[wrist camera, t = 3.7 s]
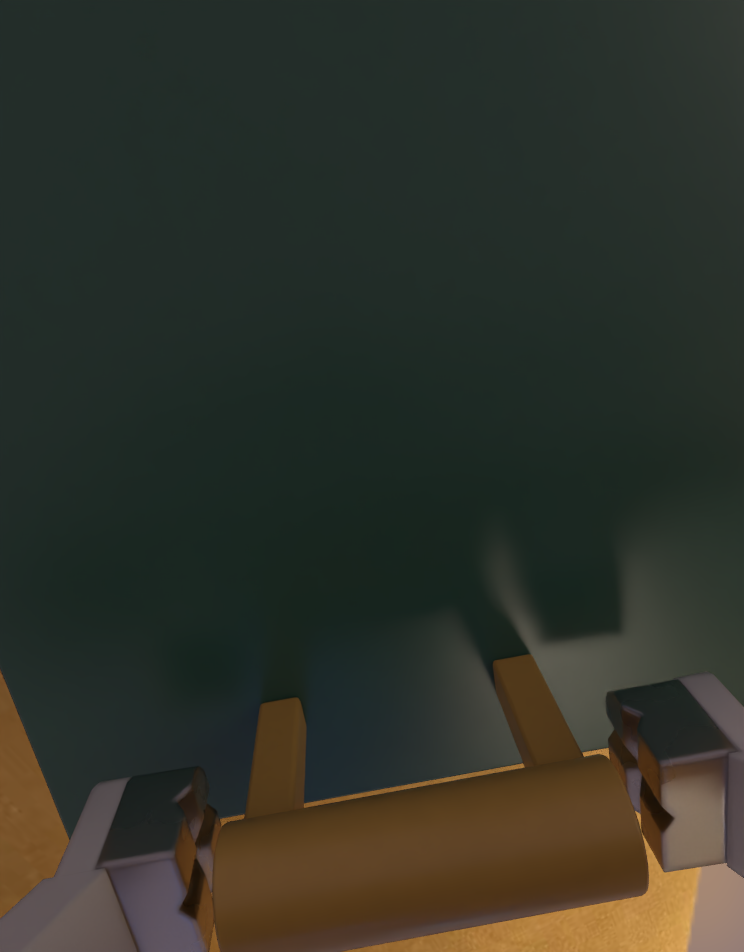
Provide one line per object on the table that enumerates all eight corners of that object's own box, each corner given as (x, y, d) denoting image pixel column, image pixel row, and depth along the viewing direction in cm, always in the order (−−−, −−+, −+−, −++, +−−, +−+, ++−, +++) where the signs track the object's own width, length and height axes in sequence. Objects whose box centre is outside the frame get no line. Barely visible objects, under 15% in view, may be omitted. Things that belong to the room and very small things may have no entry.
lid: (731, 695, 13) (953, 939, 8) (85, 813, 13) (-47, 1127, 8) (744, -490, 8) (1364, -1576, 3) (-353, -311, 8) (-1389, -1166, 3)
